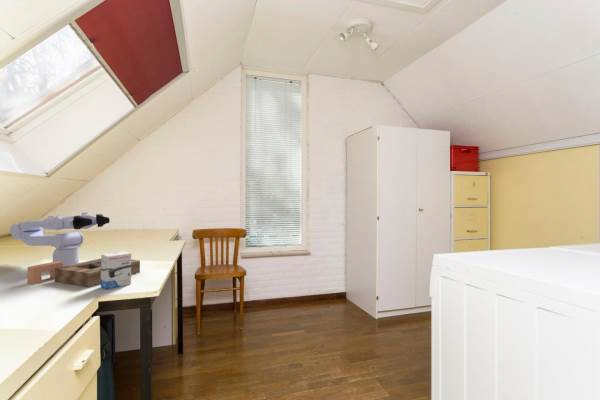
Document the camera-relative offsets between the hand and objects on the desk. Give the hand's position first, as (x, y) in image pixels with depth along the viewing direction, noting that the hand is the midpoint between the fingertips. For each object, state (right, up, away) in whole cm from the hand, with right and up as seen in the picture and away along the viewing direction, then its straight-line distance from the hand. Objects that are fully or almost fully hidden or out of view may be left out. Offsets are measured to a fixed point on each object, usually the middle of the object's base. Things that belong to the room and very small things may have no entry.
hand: (100, 220), depth 128 cm
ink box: (+16, -23, -16) cm, 32 cm away
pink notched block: (-14, -22, -11) cm, 28 cm away
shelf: (+3, -22, -5) cm, 23 cm away
